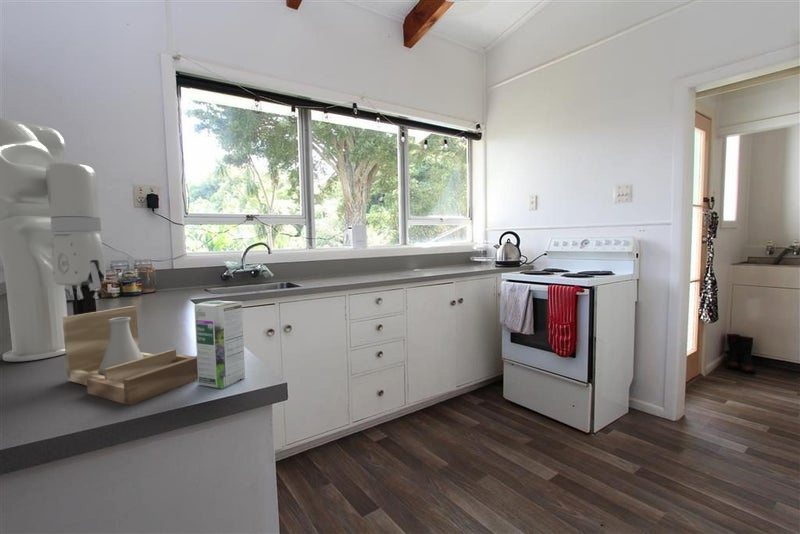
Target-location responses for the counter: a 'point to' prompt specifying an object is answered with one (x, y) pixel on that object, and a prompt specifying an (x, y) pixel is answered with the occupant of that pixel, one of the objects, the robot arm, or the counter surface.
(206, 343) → the syrup box
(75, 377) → the wooden tablet stand
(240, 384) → the counter surface
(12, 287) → the robot arm
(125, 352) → the flask
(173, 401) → the counter surface
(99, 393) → the bay
